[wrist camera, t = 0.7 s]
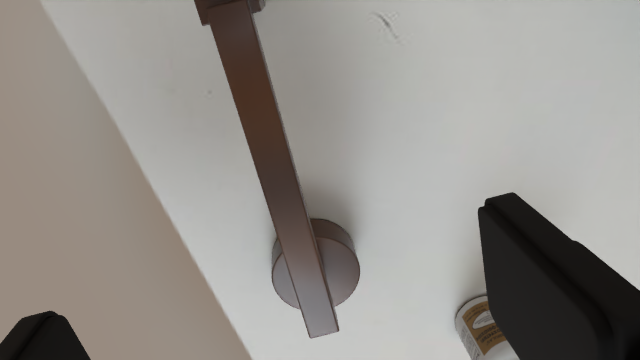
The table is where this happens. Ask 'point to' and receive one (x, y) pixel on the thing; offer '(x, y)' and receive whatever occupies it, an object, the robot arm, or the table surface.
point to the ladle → (281, 176)
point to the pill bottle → (482, 332)
